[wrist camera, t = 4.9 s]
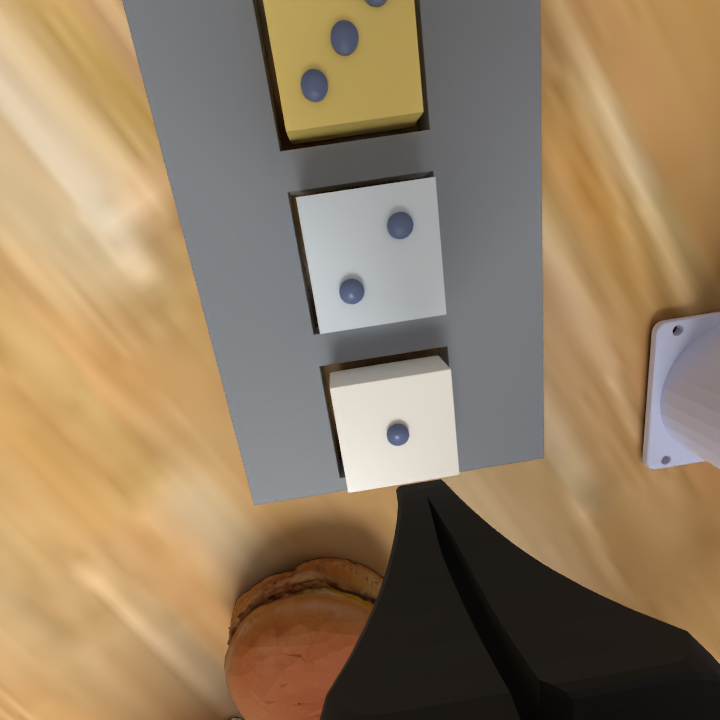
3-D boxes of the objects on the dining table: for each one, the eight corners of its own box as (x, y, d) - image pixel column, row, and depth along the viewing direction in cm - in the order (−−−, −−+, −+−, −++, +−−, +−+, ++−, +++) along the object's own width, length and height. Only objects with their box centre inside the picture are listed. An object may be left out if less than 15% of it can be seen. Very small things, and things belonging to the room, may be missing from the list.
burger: (202, 630, 23) (173, 723, 19) (303, 522, 22) (297, 596, 17) (335, 699, 26) (336, 796, 21) (434, 606, 24) (458, 690, 20)
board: (517, -69, 15) (539, -104, 13) (528, 442, 21) (543, 458, 19) (133, -17, 14) (110, -47, 13) (259, 485, 21) (254, 505, 19)
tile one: (438, 355, 18) (452, 371, 16) (446, 451, 19) (460, 477, 17) (330, 372, 18) (329, 390, 16) (346, 467, 19) (348, 495, 17)
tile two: (422, 184, 16) (437, 175, 14) (433, 305, 17) (448, 315, 15) (300, 202, 16) (295, 196, 14) (321, 323, 17) (320, 335, 15)
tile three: (398, -23, 14) (410, -67, 12) (412, 126, 16) (424, 110, 14) (265, -5, 14) (254, -46, 12) (291, 144, 16) (285, 130, 14)
